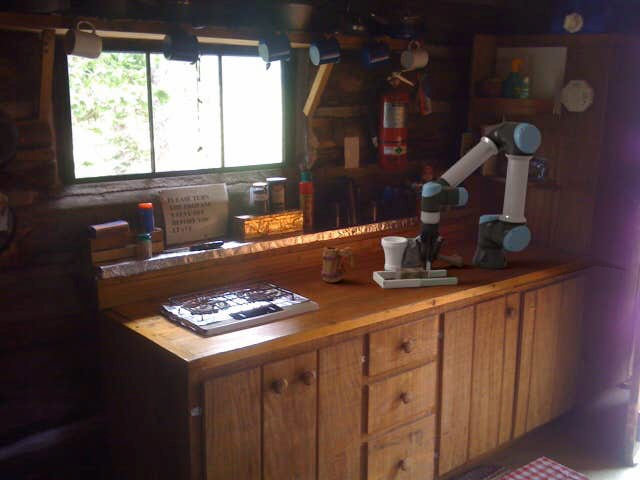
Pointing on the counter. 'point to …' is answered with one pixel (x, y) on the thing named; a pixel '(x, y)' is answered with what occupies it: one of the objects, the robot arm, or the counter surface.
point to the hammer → (412, 259)
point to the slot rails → (438, 279)
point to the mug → (336, 263)
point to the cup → (393, 252)
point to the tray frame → (382, 275)
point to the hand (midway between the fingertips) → (426, 276)
